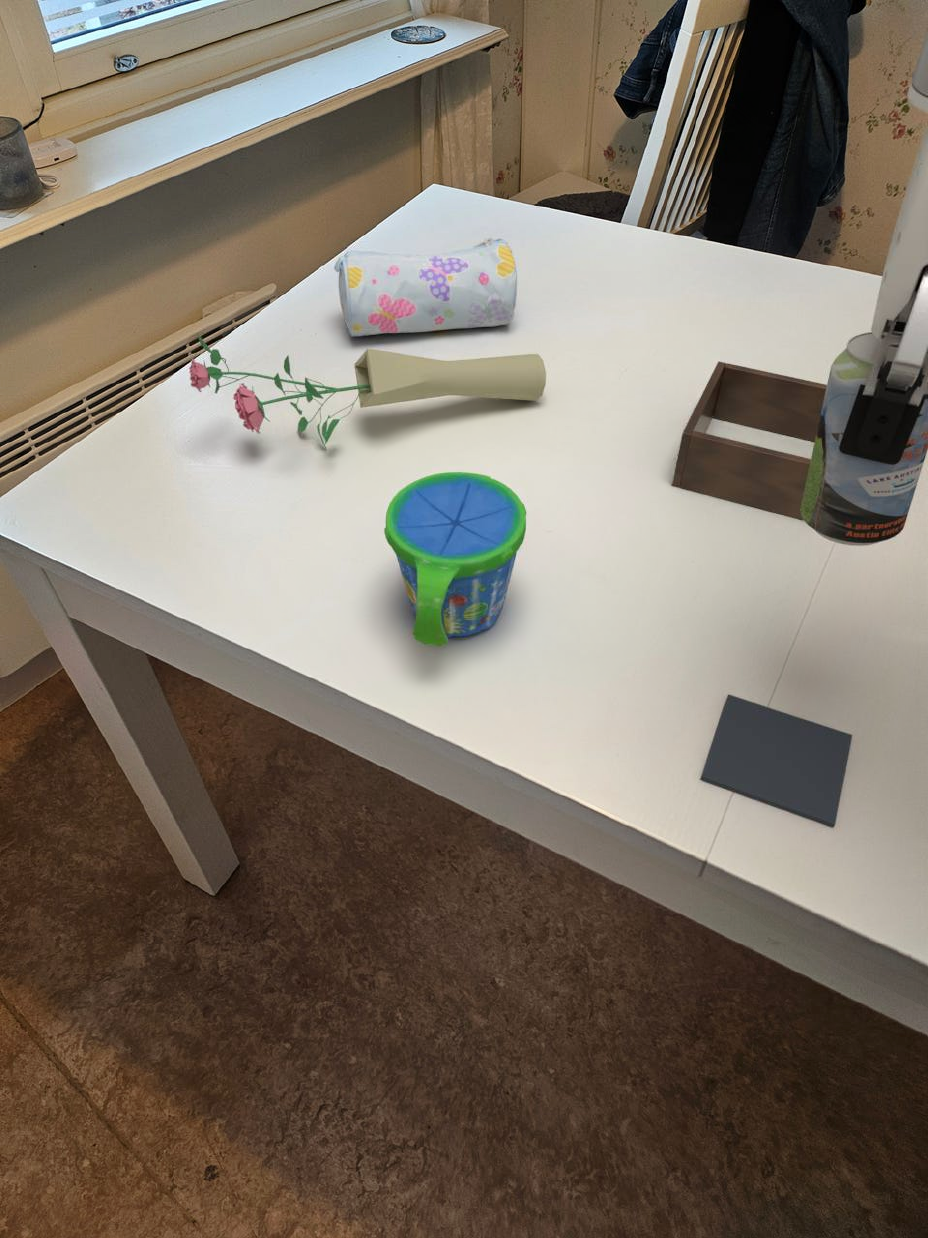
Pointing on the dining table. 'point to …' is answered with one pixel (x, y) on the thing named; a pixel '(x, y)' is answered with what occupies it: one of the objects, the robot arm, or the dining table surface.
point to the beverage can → (859, 462)
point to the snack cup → (455, 550)
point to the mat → (779, 759)
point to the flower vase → (392, 382)
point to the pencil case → (428, 289)
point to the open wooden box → (745, 466)
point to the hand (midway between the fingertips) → (877, 422)
